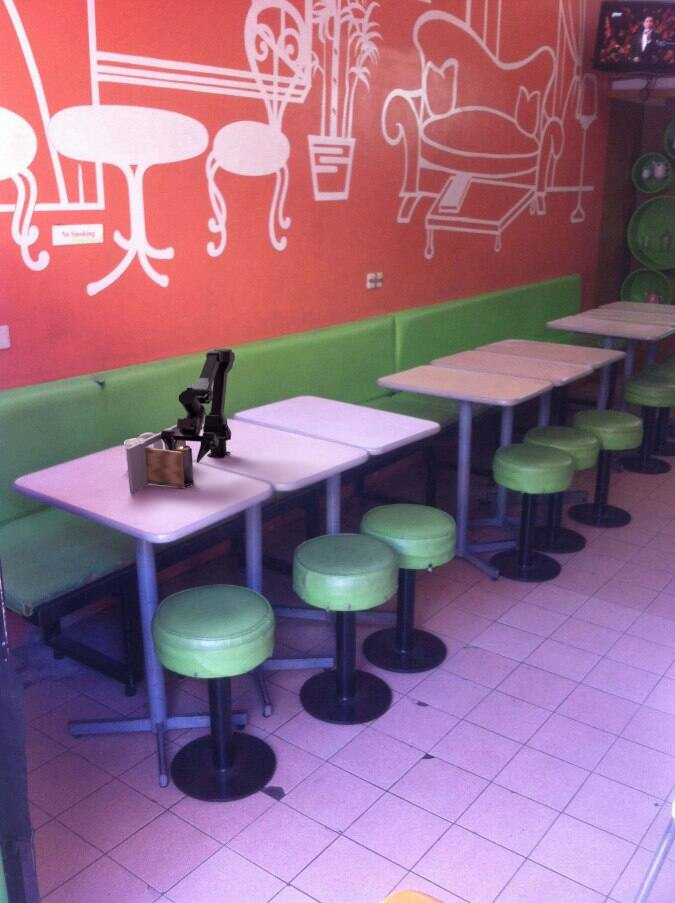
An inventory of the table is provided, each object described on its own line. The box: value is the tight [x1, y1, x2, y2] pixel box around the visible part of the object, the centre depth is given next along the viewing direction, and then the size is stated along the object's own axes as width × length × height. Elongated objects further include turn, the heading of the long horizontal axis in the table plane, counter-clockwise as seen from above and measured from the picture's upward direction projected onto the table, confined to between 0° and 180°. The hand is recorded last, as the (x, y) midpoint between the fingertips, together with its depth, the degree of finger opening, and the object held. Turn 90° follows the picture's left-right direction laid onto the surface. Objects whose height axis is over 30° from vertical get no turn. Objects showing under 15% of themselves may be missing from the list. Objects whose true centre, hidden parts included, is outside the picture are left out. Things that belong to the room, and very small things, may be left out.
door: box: [145, 447, 186, 489], centre depth 278 cm, size 14×1×12 cm, turn 70°
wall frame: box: [126, 424, 187, 494], centre depth 288 cm, size 34×2×15 cm, turn 159°
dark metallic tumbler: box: [174, 444, 195, 488], centre depth 281 cm, size 6×6×13 cm
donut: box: [137, 431, 164, 450], centre depth 308 cm, size 10×4×10 cm, turn 94°
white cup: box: [123, 437, 148, 468], centre depth 297 cm, size 8×8×10 cm
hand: (184, 461), depth 280 cm, fingers open, 9 cm apart
